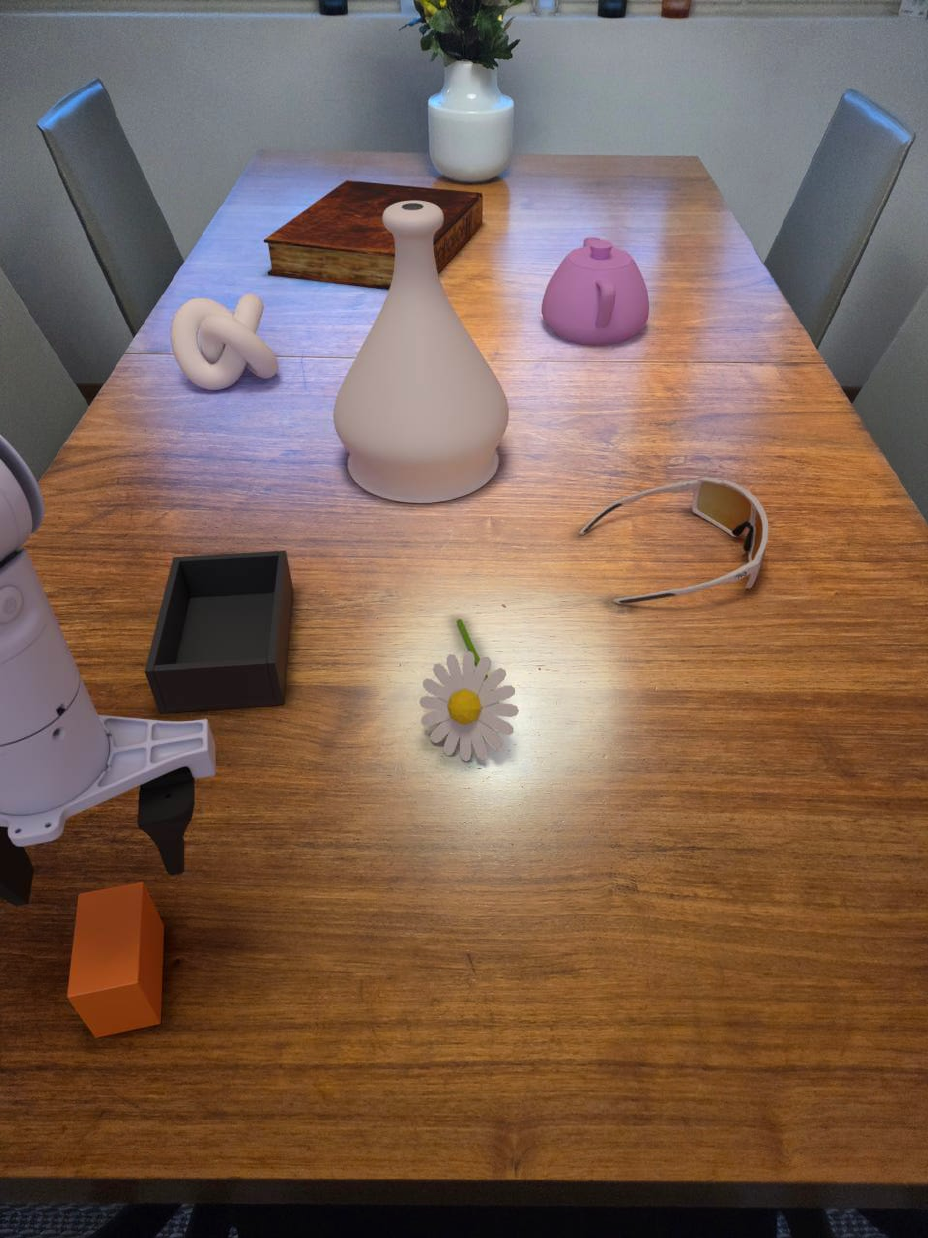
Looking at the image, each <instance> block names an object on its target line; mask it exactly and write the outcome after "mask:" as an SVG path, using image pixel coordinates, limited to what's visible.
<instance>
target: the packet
mask: <svg viewBox="0 0 928 1238" xmlns="http://www.w3.org/2000/svg"><path fill="white" fill-rule="evenodd" d="M76 905H77V907H76V914H75V916H76V917H75V923H74V924H75V925H74V933H73V941H72V950H71V959H70V967H69V975H68V984H67V993H66V998H67V999H68V1001H69V1003H70V1004H71V1005H72V1006H73V1008H74V1009H75V1011H76V1013H77V1014H78V1015H79V1017H80V1018H81V1020H82V1021H83V1023H85V1025H86V1027H87V1028H88V1030H89V1031H90V1032H91V1034H92V1036H93V1037H94V1038H95V1039H98V1038H101V1037H102V1038H103V1037H107V1036H112V1035H115V1034H121V1033H125V1032H130V1031H134V1030H140V1029H143V1028H148V1027H153V1026H158V1025H161V1022H162V999H163V998H162V997H163V968H164V967H163V966H164V938H165V925H164V922H163V921H162V919H161V917H160V914H159V912H158V910H157V908H156V906H155V903H154V901H153V899H152V897H151V895H150V894H149V891H148V889H147V887H146V885H145V883H144V881H137V882H131V883H127V884H122V885H117V886H116V885H115V886H111V887H106V888H101V889H96V890H91V891H85V892H81V893H79V894H78V898H77V904H76Z"/></svg>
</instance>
